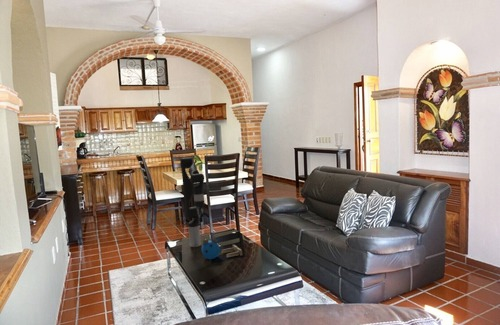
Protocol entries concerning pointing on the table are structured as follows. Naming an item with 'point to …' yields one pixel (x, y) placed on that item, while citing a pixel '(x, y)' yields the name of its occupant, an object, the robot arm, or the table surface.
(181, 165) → the robot arm
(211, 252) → the alarm clock
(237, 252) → the wooden staple shape
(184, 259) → the table surface
